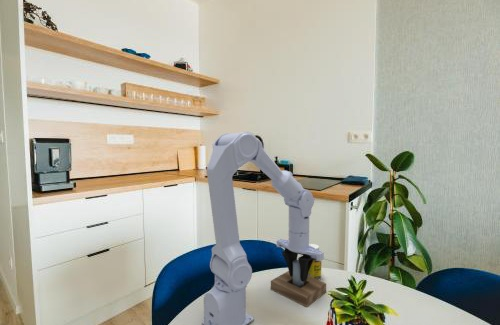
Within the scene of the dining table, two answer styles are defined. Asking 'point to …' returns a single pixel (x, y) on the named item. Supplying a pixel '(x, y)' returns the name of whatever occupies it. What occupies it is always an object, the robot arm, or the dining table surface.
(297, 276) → the dowel
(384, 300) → the dining table surface
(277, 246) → the robot arm
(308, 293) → the socket block
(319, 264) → the supplement bottle
